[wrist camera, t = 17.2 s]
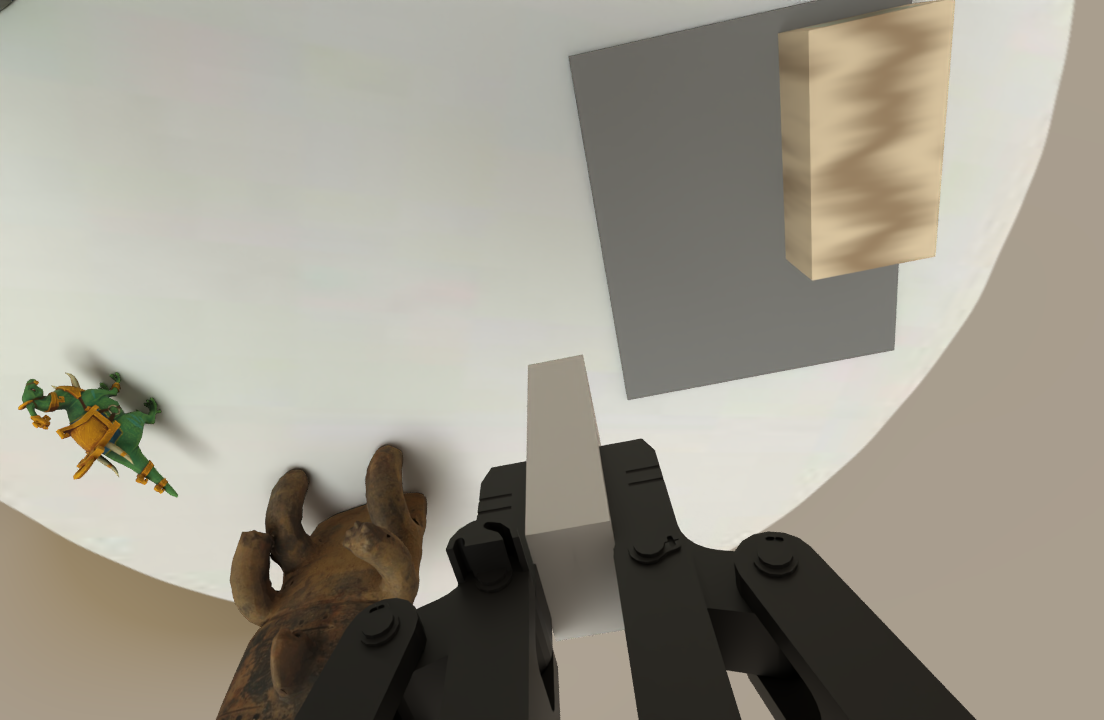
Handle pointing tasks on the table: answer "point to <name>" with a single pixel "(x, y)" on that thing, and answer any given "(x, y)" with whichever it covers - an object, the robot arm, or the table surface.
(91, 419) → the figurine
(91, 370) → the table surface
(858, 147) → the beech block
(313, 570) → the figurine
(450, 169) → the table surface
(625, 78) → the rubber mat
